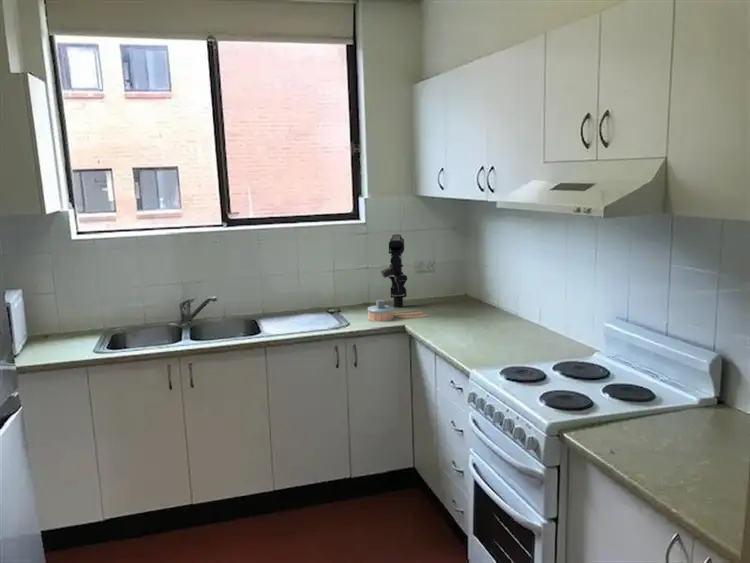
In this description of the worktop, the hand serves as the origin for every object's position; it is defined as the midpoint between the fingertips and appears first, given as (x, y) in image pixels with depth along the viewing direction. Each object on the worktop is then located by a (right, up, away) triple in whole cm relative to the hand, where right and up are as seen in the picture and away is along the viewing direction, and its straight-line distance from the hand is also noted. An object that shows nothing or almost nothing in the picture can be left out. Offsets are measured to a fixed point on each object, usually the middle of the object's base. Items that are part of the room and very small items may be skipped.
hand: (397, 290), depth 345 cm
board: (+7, -14, -4) cm, 16 cm away
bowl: (-9, -15, -9) cm, 20 cm away
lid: (-9, -10, -10) cm, 17 cm away
